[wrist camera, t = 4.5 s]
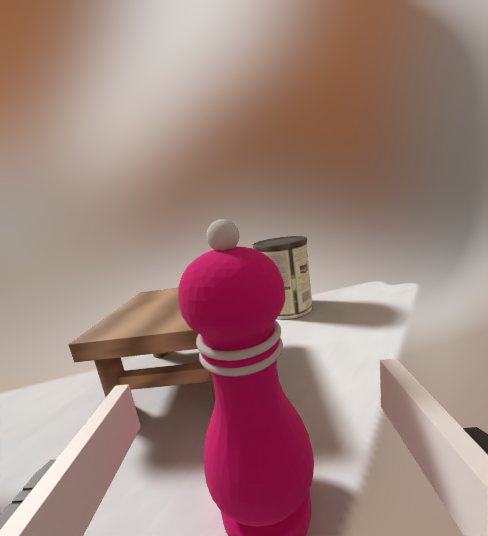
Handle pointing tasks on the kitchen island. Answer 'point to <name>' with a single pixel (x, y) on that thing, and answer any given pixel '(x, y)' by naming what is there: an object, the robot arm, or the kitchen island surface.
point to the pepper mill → (247, 390)
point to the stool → (141, 343)
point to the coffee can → (291, 272)
